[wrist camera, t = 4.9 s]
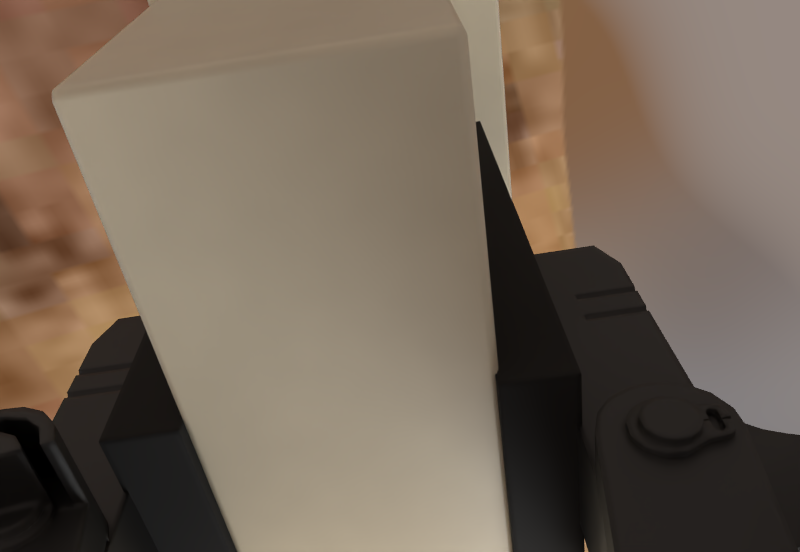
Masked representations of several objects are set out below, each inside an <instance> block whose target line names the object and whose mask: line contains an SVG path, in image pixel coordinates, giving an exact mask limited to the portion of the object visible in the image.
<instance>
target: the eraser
mask: <svg viewBox="0 0 800 552" xmlns="http://www.w3.org/2000/svg"><path fill="white" fill-rule="evenodd" d="M147 1H148V4H149V7H148V8H147V9H146V10H145V11H144V12H143V13H141V14H140V15H139V16H138V17H137V18H136V19H135V20H133V21H132V22H131V23H130V24H129V25H128V26H126V27H125V28H124V29H123V30H122V31H121V32H119V33H118V34H117V35H116V36H115V37H114V38H112V39H111V40H110V41H109V42H108V43H107V44H105V45H104V46H103V47H102V48H101V49H100V50H98V51H97V52H96V53H95V54H94V55H93V56H91V57H90V58H89V59H88V60H87V61H86V62H85V63H83V64H82V65H81V66H80V67H79V68H78V69H76V70H75V71H74V72H73V73H72V74H71V75H69V76H68V77H67V78H66V79H65V80H64V81H62V82H61V83H60V84H59V85H58V86H57V87H55V88H54V89H53V90H52V102H53V105H54V107H55V110H56V112H57V115H58V117H59V119H60V122H61V124H62V127H63V129H64V132H65V134H66V136H67V139H68V141H69V144H70V146H71V149H72V151H73V153H74V156H75V158H76V161H77V163H78V166H79V168H80V171H81V173H82V175H83V178H84V180H85V183H86V185H87V188H88V190H89V192H90V195H91V197H92V200H93V202H94V205H95V207H96V209H97V212H98V214H99V217H100V219H101V222H102V224H103V226H104V229H105V231H106V234H107V236H108V239H109V241H110V244H111V246H112V248H113V251H114V253H115V256H116V258H117V261H118V263H119V265H120V268H121V270H122V273H123V275H124V278H125V280H126V282H127V285H128V287H129V290H130V292H131V295H132V297H133V300H134V302H135V304H136V307H137V309H138V312H139V314H140V317H141V319H142V321H143V324H144V326H145V329H146V331H147V334H148V336H149V338H150V341H151V343H152V346H153V348H154V351H155V353H156V356H157V358H158V360H159V363H160V365H161V368H162V370H163V373H164V375H165V377H166V380H167V382H168V385H169V387H170V390H171V392H172V394H173V397H174V399H175V402H176V404H177V407H178V409H179V411H180V414H181V416H182V419H183V421H184V424H185V426H186V429H187V431H188V433H189V436H190V438H191V441H192V443H193V446H194V448H195V450H196V453H197V455H198V458H199V460H200V463H201V465H202V467H203V470H204V472H205V475H206V477H207V480H208V482H209V485H210V487H211V489H212V492H213V494H214V497H215V499H216V502H217V504H218V506H219V509H220V511H221V514H222V516H223V518H224V521H225V523H226V526H227V528H228V531H229V533H230V535H231V538H232V540H233V543H234V545H235V548H236V550H237V552H513V549H512V539H511V529H510V518H509V508H508V498H507V488H506V478H505V468H504V457H503V447H502V437H501V427H500V417H499V407H498V396H497V386H496V376H495V374H497V371H498V357H497V346H496V336H495V325H494V314H493V303H492V293H491V282H490V271H489V260H488V249H487V239H486V228H485V217H484V206H483V195H482V185H481V174H480V163H479V152H478V142H477V131H476V122H478V121H480V122H481V124H482V127H483V129H484V132H485V134H486V137H487V139H488V142H489V144H490V147H491V149H492V152H493V154H494V157H495V159H496V162H497V164H498V167H499V169H500V172H501V174H502V177H503V179H504V182H505V184H506V187H507V189H508V192H509V194H510V197H511V199H512V192H511V177H510V163H509V148H508V134H507V119H506V105H505V90H504V76H503V61H502V47H501V32H500V18H499V3H498V0H147Z"/></svg>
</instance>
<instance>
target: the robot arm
mask: <svg viewBox="0 0 800 552" xmlns="http://www.w3.org/2000/svg"><path fill="white" fill-rule="evenodd" d="M476 131H477V142H478V152H479V163H480V174H481V185H482V195H483V206H484V217H485V228H486V239H487V249H488V260H489V271H490V282H491V293H492V303H493V314H494V325H495V336H496V346H497V357H498V371H497V374H495V376H496V386H497V396H498V407H499V417H500V427H501V437H502V447H503V457H504V468H505V478H506V488H507V498H508V508H509V518H510V529H511V539H512V549H513V552H584V538H585V541H586V545H587V548H588V551H589V552H800V435H795V434H786V433H781V432H775V431H768V430H763V429H760V428H757V427H754V426H751V425H748V424H745V423H744V422H743V421H742V419H741V418H740V416H739V415H738V414H737V412H736V411H735V409H734V408H733V407H731V406H730V405H728V404H727V403H725V402H724V401H722V400H721V399H719V398H718V397H716V396H715V395H713V394H712V393H710V392H707V391H704V390H701V389H698V388H695V387H694V386H693V384H692V383H691V381H690V379H689V378H688V376H687V374H686V372H685V371H684V369H683V367H682V366H681V364H680V363H679V361H678V359H677V357H676V356H675V354H674V352H673V351H672V349H671V347H670V345H669V344H668V342H667V340H666V339H665V337H664V335H663V334H662V332H661V330H660V329H659V327H658V325H657V324H656V322H655V320H654V319H653V317H652V315H651V313H650V312H649V311H647V310H646V305H645V303H644V302H643V300H642V299H641V297H640V295H639V293H638V291H635V287H634V285H633V283H632V281H631V280H630V278H629V276H628V275H627V273H626V271H625V269H624V268H623V266H622V264H621V263H620V262H618V261H617V260H615V259H614V258H612V257H610V256H609V255H607V254H606V253H604V252H603V251H601V250H600V249H598V248H596V247H595V246H588V247H581V248H575V249H568V250H561V251H555V252H548V253H541V254H533V251H532V249H531V246H530V244H529V241H528V239H527V236H526V234H525V231H524V229H523V226H522V224H521V221H520V219H519V216H518V214H517V211H516V209H515V207H514V204H513V202H512V199H511V197H510V194H509V192H508V189H507V187H506V184H505V182H504V179H503V177H502V174H501V172H500V169H499V167H498V164H497V162H496V159H495V157H494V154H493V152H492V149H491V147H490V144H489V142H488V139H487V137H486V134H485V132H484V129H483V127H482V124H481V122H480V121H478V122H476ZM67 393H68V398H64V400H63V402H62V404H61V406H60V408H59V409H58V411H57V413H56V415H55V417H54V419H53V421H51V419H50V418H49V417H48V416H47V415H46V414H45V413H44V412H43V411H39V410H35V409H30V408H26V407H19V408H10V409H2V410H0V552H237V550H236V548H235V545H234V543H233V540H232V538H231V535H230V533H229V531H228V528H227V526H226V523H225V521H224V518H223V516H222V514H221V511H220V509H219V506H218V504H217V502H216V499H215V497H214V494H213V492H212V489H211V487H210V485H209V482H208V480H207V477H206V475H205V472H204V470H203V467H202V465H201V463H200V460H199V458H198V455H197V453H196V450H195V448H194V446H193V443H192V441H191V438H190V436H189V433H188V431H187V429H186V426H185V424H184V421H183V419H182V416H181V414H180V411H179V409H178V407H177V404H176V402H175V399H174V397H173V394H172V392H171V390H170V387H169V385H168V382H167V380H166V377H165V375H164V373H163V370H162V368H161V365H160V363H159V360H158V358H157V356H156V353H155V351H154V348H153V346H152V343H151V341H150V338H149V336H148V334H147V331H146V329H145V326H144V324H143V321H142V319H141V317H140V316H135V317H129V318H122V319H118V320H117V321H116V322H115V323H114V324H113V325H112V326H111V327H110V328H109V329H108V330H107V331H105V332H104V333H103V334H102V335H101V336H100V337H99V338H98V339H97V340H96V341H95V342H94V343H93V344H92V346H91V348H90V349H89V351H88V353H87V355H86V357H85V359H84V361H83V363H82V365H81V367H80V369H79V375H77V376H76V377H75V379H74V380H73V382H72V384H71V386H70V388H69V390H68V392H67Z"/></svg>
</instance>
